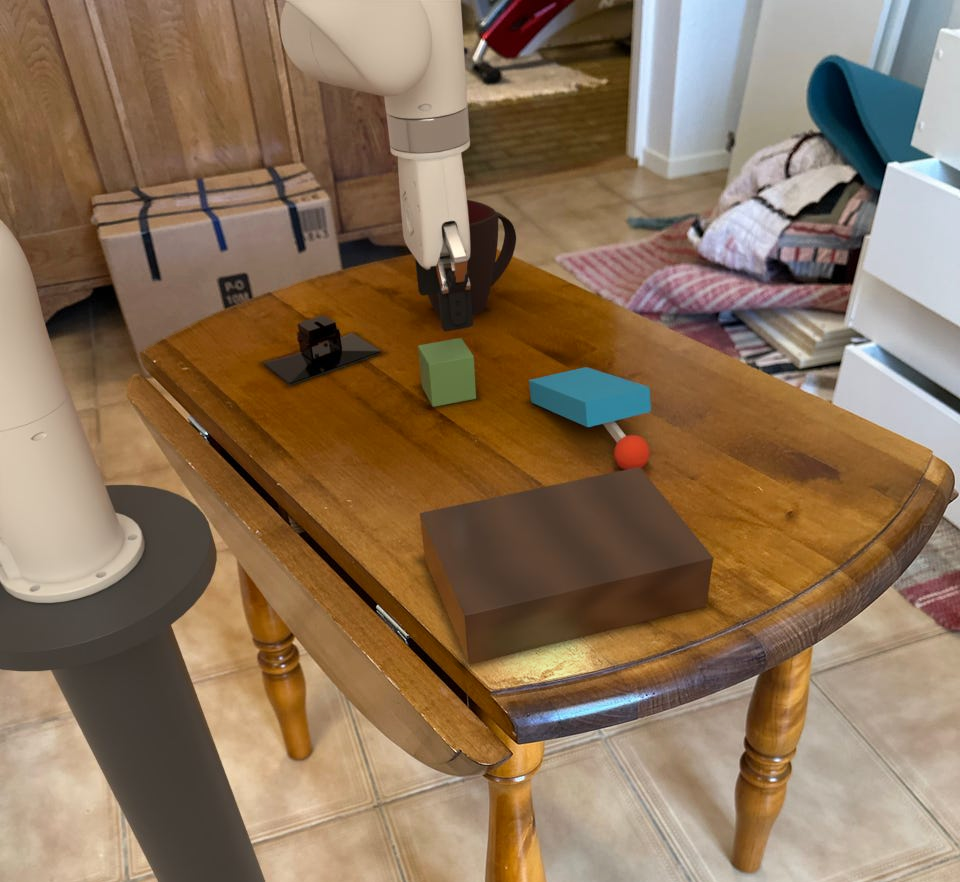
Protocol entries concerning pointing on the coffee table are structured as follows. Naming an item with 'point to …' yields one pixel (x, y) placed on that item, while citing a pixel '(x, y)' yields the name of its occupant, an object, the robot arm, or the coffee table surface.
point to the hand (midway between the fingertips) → (445, 309)
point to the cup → (484, 254)
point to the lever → (597, 406)
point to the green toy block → (447, 372)
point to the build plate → (320, 351)
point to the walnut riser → (562, 563)
